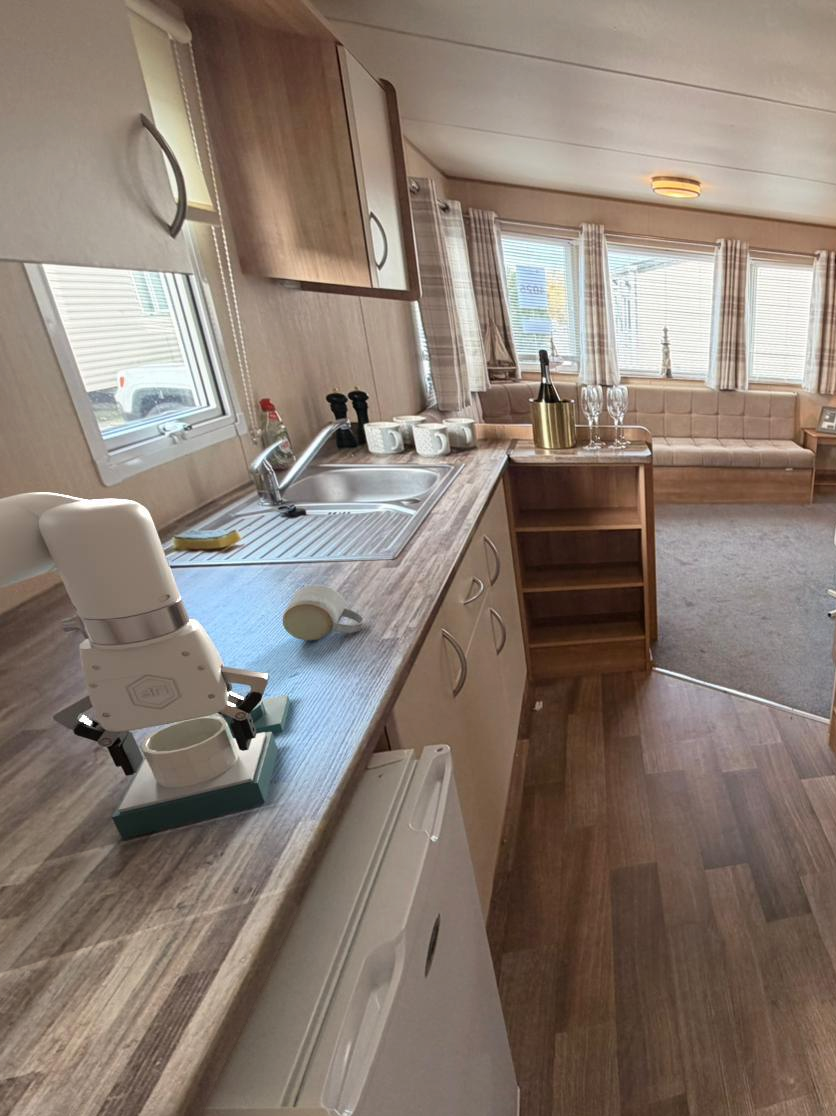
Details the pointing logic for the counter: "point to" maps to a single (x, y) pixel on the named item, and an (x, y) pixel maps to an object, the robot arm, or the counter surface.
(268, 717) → the pad
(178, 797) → the scale
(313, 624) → the ceramic mug
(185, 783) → the bowl
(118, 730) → the robot arm
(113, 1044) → the counter surface
